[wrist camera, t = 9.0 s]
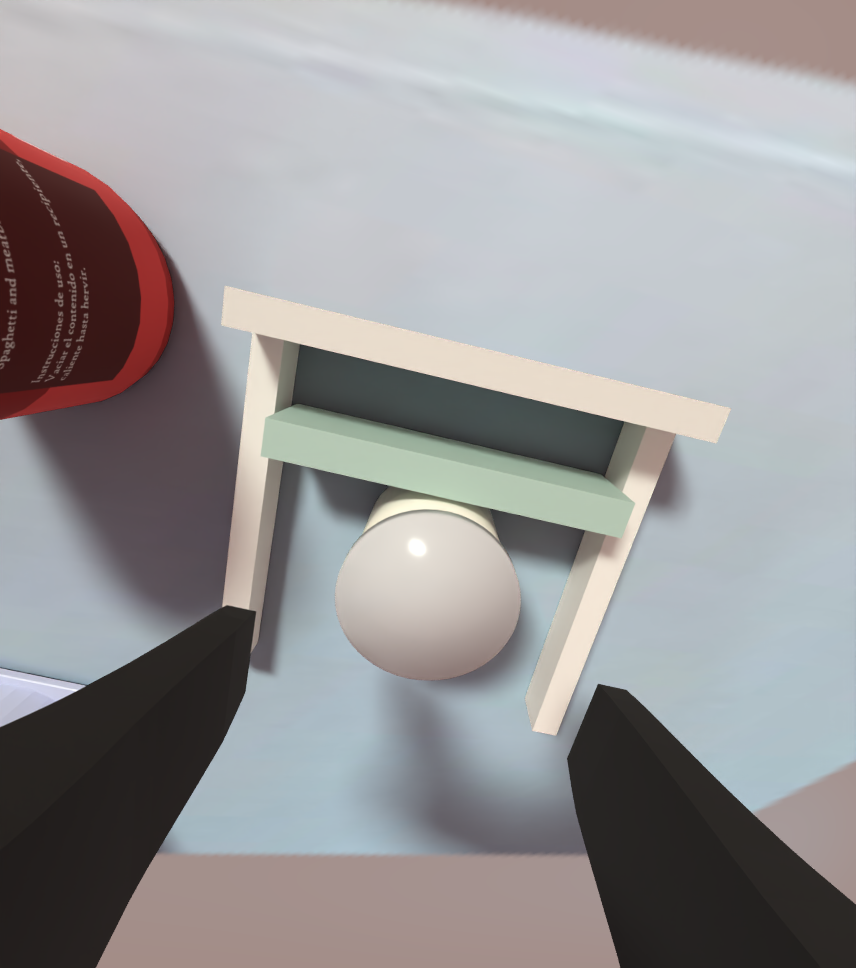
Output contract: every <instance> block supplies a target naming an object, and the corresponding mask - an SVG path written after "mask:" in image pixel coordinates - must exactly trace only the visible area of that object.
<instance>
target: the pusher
mask: <svg viewBox="0 0 856 968" xmlns="http://www.w3.org/2000/svg"><path fill="white" fill-rule="evenodd" d="M261 456H262V457H266V458H271V459H275V460H279V461H284V462H288V463H293V464H297V465H301V466H306V467H310V468H315V469H319V470H323V471H328V472H332V473H336V474H341V475H345V476H350V477H354V478H358V479H363V480H367V481H372V482H376V483H380V484H385V485H389V486H394V487H398V488H402V489H407V490H411V491H416V492H420V493H424V494H429V495H433V496H438V497H442V498H446V499H451V500H455V501H460V502H464V503H468V504H473V505H477V506H481V507H486V508H490V509H495V510H499V511H503V512H508V513H512V514H517V515H521V516H525V517H530V518H534V519H539V520H543V521H547V522H552V523H556V524H561V525H565V526H569V527H574V528H578V529H583V530H587V531H591V532H596V533H600V534H605V535H609V536H613V537H618V538H622V536H623V534H624V531H625V529H626V526H627V523H628V521H629V518H630V516H631V513H632V511H633V508H634V505H635V502H633V501H632V500H631V499H630V498H629V497H627V496H626V495H625V494H624V493H623V492H621V491H620V490H619V489H618V488H617V487H615V486H614V485H613V484H612V483H611V482H609V481H608V480H607V479H606V478H605V477H603V476H602V475H601V474H598V473H593V472H589V471H585V470H580V469H576V468H572V467H568V466H563V465H559V464H555V463H550V462H546V461H542V460H538V459H533V458H529V457H525V456H520V455H516V454H512V453H508V452H503V451H499V450H495V449H490V448H486V447H482V446H478V445H473V444H469V443H465V442H460V441H456V440H452V439H448V438H443V437H439V436H435V435H430V434H426V433H422V432H417V431H413V430H409V429H405V428H400V427H396V426H392V425H387V424H383V423H379V422H375V421H370V420H366V419H362V418H357V417H353V416H349V415H345V414H340V413H336V412H332V411H327V410H323V409H319V408H315V407H310V406H306V405H302V404H295V405H293V406H291V407H289V408H286V409H284V410H282V411H279V412H277V413H275V414H273V415H270V416H268V417H266V418H265V425H264V433H263V441H262V449H261Z"/></svg>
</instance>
